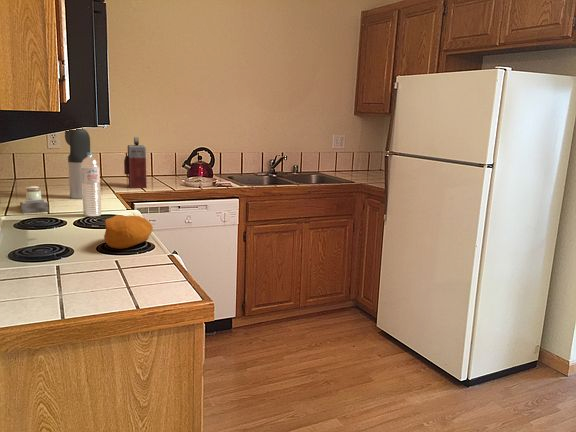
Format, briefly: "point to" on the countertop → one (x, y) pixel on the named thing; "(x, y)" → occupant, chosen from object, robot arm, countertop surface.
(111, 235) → the bread
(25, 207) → the lane
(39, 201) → the plate
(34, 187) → the terracotta jar
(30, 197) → the sage jar
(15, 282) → the countertop surface
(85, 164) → the water bottle
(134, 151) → the red grey square bottle
